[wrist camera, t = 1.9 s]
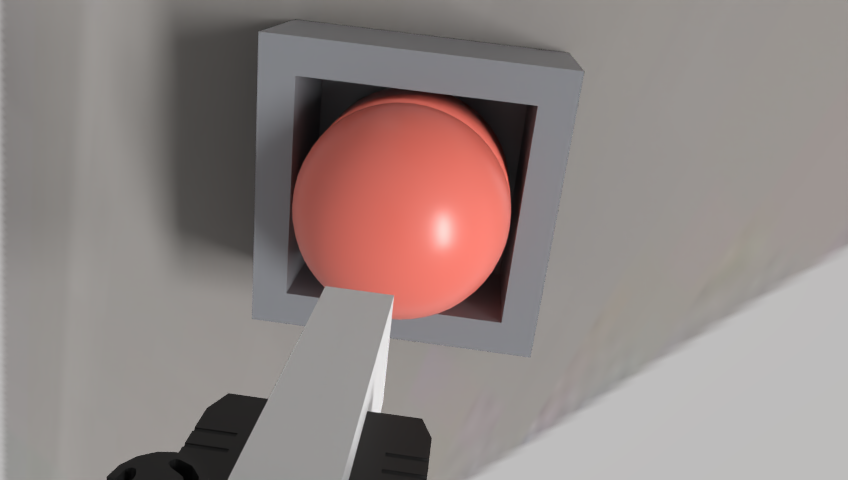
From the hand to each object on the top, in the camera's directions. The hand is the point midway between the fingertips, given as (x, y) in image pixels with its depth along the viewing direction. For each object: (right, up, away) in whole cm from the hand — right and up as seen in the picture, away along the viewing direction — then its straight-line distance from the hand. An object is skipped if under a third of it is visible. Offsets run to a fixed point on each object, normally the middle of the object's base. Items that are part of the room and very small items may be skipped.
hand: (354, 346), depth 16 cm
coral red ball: (+1, +5, +11) cm, 12 cm away
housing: (+1, +5, +12) cm, 13 cm away
